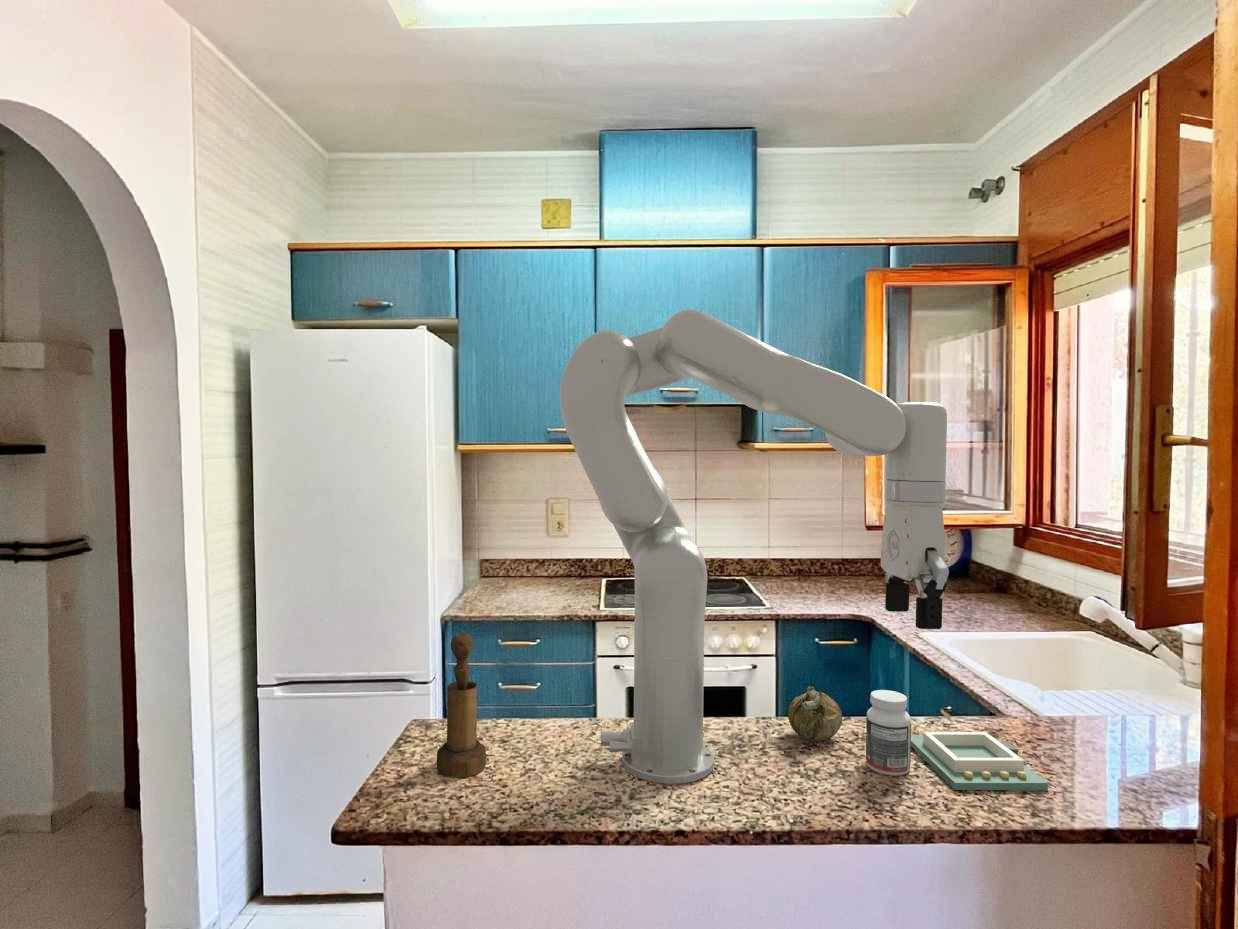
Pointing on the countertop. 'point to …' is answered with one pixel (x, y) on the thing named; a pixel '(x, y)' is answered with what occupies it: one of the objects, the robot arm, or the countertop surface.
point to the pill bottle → (888, 733)
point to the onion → (815, 716)
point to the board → (976, 761)
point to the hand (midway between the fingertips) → (911, 619)
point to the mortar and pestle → (461, 719)
